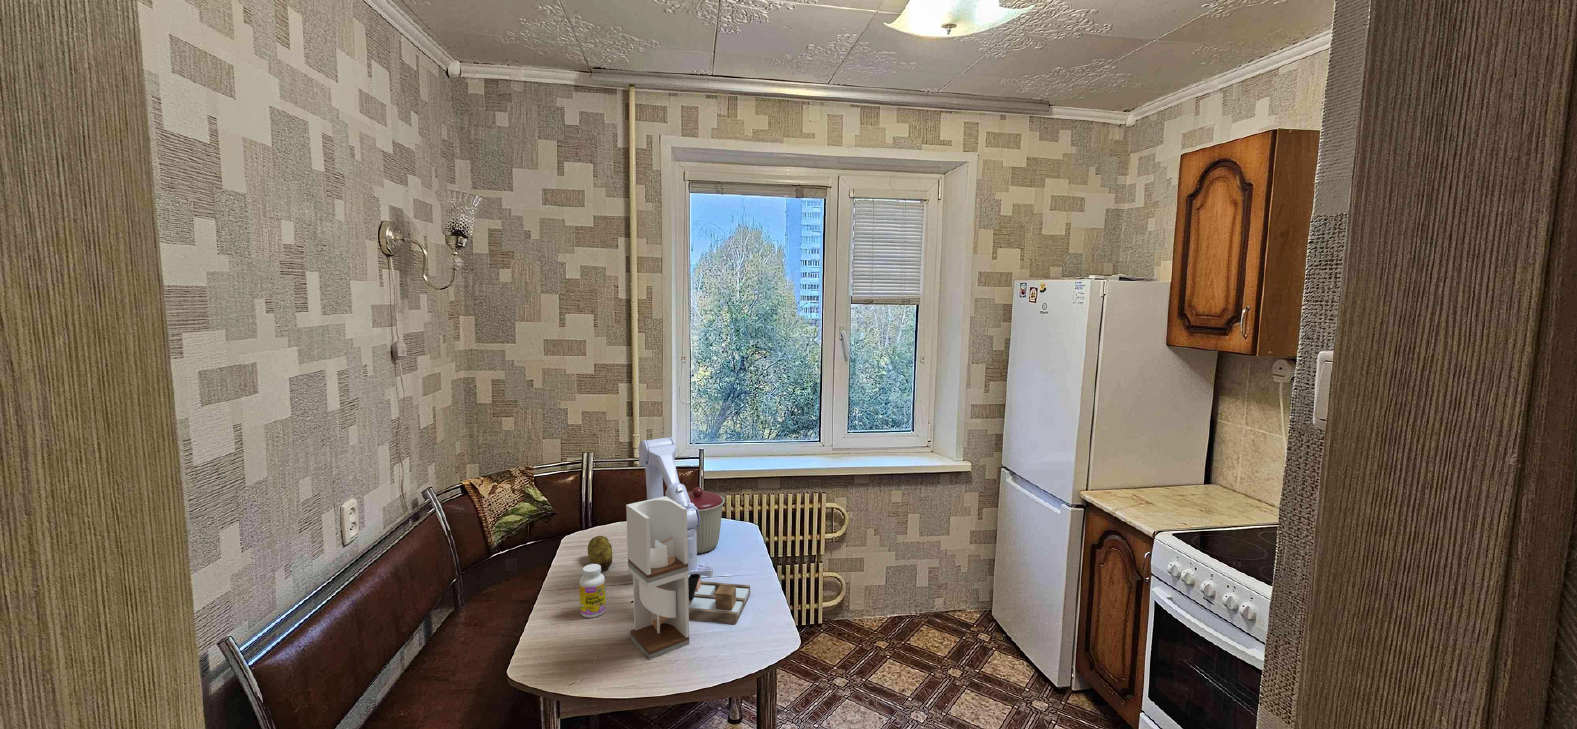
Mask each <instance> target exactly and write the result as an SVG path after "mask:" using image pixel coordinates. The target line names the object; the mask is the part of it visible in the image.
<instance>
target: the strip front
mask: <svg viewBox="0 0 1577 729" xmlns="http://www.w3.org/2000/svg"><path fill="white" fill-rule="evenodd" d="M688 598H689V586H688ZM742 606H743V602H739V601H736V603H735V605H734V607H733V609H732V611H731V610H721V611H731V612H737V616H738V615H739V613H740V611H741V608H742ZM689 608H699V609H710V610H720V609H716V607H715V599H705V598H693V600H692V601H689Z"/></svg>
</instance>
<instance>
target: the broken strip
mask: <svg viewBox="0 0 1577 729" xmlns="http://www.w3.org/2000/svg"><path fill="white" fill-rule="evenodd" d="M701 576H702V575H701ZM701 576H700V578H699V580H698V583H697V586H696V589H695V594H703V595H713V594H714V592H715V586H710V585H701V581H702V578H701ZM748 595H749V589H745V588H736V597H737V598H744V603H745V601H746V599H747V597H748Z"/></svg>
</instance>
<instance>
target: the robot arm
mask: <svg viewBox="0 0 1577 729" xmlns="http://www.w3.org/2000/svg"><path fill="white" fill-rule="evenodd" d="M676 455H677V442H676V441H675V438H673V437H672V436H668V437H662V438H656V439H655V438H654V439H645V440H640V442H639V445H638V462H639V466H641V467H644V471H645V484H646V486H645V487H646V500H650V499H655V498H659V497H664V485H663V481H664V484H665V485H666V487H667V488H666V490H665V496H666V497H668V498H670V499H671V500H673V501H675V502H677V503H678V504H680V505H682V506H683V507H685V508H687V542H688V586H689V601H692V600H693V598H694V594H695V589H696V586H697V583H698V580H699V578H700V576H705V577H707V578H712V577H713V574H714V567H713V566H707V565H703V564H699V563H698V556H697V555H698V553H697V536H696V527H699V525H700V515H699V512H698V509H697V508H696V507H695V506H694V504H693V503H691V501H690V499H689V496H688V493H687V492H688V491H687V488H686V486H685V484H683V483H680V479H679V475H678V471H677V467H676V464H675V460H676Z"/></svg>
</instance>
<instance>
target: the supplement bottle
mask: <svg viewBox="0 0 1577 729" xmlns="http://www.w3.org/2000/svg"><path fill="white" fill-rule="evenodd" d="M601 572H602V570H601V566H600V565H598V564H591V563H589V564H587V565H585V566H584V567H582V576H581V577H580V578H579V580H578V582H579V584H578V585H579V611H580V615H581V616H582V617H584V618H597V617H600V616H601V615H603V614H604V613H605V611H606V609H607V608H606V604H607V603H606V602H607V601H606V578H605V576H604V574H603V573H601Z"/></svg>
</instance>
